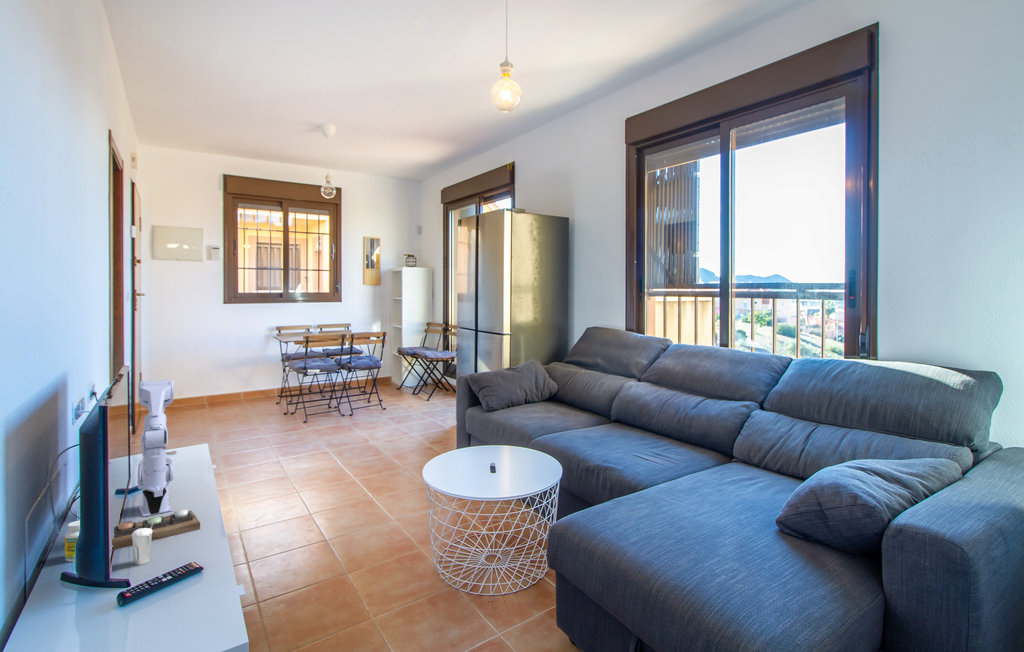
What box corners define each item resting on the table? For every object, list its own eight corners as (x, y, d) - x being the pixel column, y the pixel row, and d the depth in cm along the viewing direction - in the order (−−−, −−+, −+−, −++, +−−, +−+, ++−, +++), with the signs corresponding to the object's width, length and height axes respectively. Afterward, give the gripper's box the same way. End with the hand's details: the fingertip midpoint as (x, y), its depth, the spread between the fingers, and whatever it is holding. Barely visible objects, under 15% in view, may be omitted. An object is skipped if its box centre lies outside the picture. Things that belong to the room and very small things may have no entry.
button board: (106, 535, 151) (106, 524, 151) (191, 516, 166) (191, 506, 166) (110, 550, 142) (110, 538, 142) (200, 528, 157) (200, 517, 157)
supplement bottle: (91, 550, 142) (91, 517, 141) (88, 559, 137) (88, 524, 137) (66, 555, 139) (66, 521, 138) (62, 564, 134) (62, 528, 134)
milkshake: (159, 558, 138) (159, 522, 138) (139, 567, 133) (139, 530, 133) (147, 555, 140) (147, 520, 140) (127, 564, 135) (127, 527, 135)
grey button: (173, 516, 159) (173, 511, 159) (186, 513, 161) (186, 508, 161) (175, 519, 156) (175, 514, 156) (189, 516, 158) (189, 511, 158)
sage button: (146, 524, 154) (146, 519, 154) (160, 520, 156) (160, 515, 156) (148, 528, 151) (148, 522, 151) (162, 524, 154) (162, 519, 154)
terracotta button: (117, 528, 149) (117, 523, 149) (132, 525, 151) (132, 519, 151) (118, 532, 146) (118, 527, 146) (134, 529, 149) (134, 523, 149)
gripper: (135, 465, 156) (134, 508, 156) (142, 478, 145) (141, 524, 146) (162, 461, 161) (162, 503, 161) (171, 473, 150) (170, 518, 151)
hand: (154, 513), depth 154 cm, fingers closed
